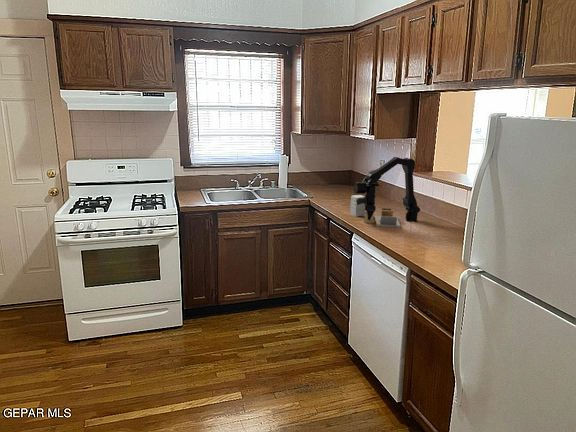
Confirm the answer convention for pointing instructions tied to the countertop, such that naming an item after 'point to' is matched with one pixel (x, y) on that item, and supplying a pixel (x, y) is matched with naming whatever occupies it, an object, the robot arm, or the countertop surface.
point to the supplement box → (357, 206)
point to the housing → (367, 218)
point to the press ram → (386, 212)
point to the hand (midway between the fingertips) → (368, 218)
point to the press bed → (387, 221)
